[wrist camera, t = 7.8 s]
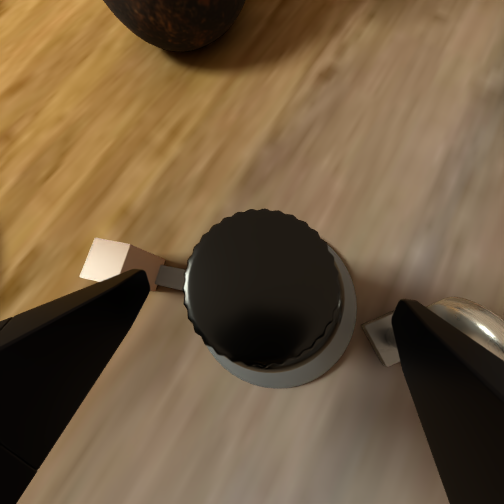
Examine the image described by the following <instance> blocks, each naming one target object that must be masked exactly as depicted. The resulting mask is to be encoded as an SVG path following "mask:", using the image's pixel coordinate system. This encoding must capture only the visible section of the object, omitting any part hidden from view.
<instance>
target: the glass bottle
mask: <svg viewBox="0 0 504 504" xmlns="http://www.w3.org/2000/svg"><path fill="white" fill-rule="evenodd" d="M103 1H104V2H105V3H106V5H107V6H108V7H109V9H110V10H111V11H112V12H113V13H114V15H115V16H116V17H117V18H118V19H119V20H120V21H121V22H122V23H123V24H124V25H125V26H126V27H127V28H128V29H130V30H131V31H132V32H133V33H134V34H136V35H137V36H138V37H140V38H141V39H143V40H144V41H146V42H148V43H150V44H152V45H154V46H156V47H159V48H162V49H165V50H170V51H190V50H195V49H198V48H201V47H203V46H206V45H208V44H210V43H212V42H213V41H215V40H216V39H218V38H219V37H220V36H222V35H223V34H224V33H225V32H226V31H227V30H228V29H229V28H230V26H231V25H232V24H233V22H234V21H235V19H236V18H237V16H238V15H239V12H240V11H241V9H242V7H243V5H244V2H245V0H103Z"/></svg>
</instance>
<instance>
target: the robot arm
mask: <svg viewBox="0 0 504 504" xmlns="http://www.w3.org/2000/svg"><path fill="white" fill-rule="evenodd" d="M149 292H150V284H149V280H148V277H147V274H146V272H145V270H143V269H131V270H128V271H126V272H123V273H121V274H118V275H116V276H113V277H111V278H108V279H106V280H103V281H101V282H98V283H96V284H93V285H91V286H88V287H86V288H83V289H81V290H78V291H76V292H73V293H71V294H68V295H66V296H63V297H61V298H58V299H56V300H53V301H51V302H48V303H46V304H43V305H41V306H38V307H36V308H33V309H31V310H28V311H26V312H23V313H21V314H18V315H15V316H14V317H10V318H8V319H5V320H3V321H0V504H16V503H17V502H18V500H19V499H20V497H21V496H22V494H23V493H24V491H25V489H26V488H27V486H28V485H29V483H30V482H31V480H32V479H33V477H34V476H35V474H36V473H37V470H38V469H39V468H40V466H41V465H42V463H43V462H44V460H45V458H46V457H47V455H48V454H49V452H50V451H51V449H52V448H53V446H54V445H55V443H56V442H57V440H58V439H59V437H60V436H61V434H62V432H63V431H64V429H65V428H66V426H67V425H68V423H69V422H70V420H71V419H72V417H73V416H74V414H75V413H76V411H77V410H78V408H79V406H80V405H81V403H82V402H83V400H84V399H85V397H86V396H87V394H88V393H89V391H90V390H91V388H92V387H93V385H94V383H95V382H96V380H97V379H98V377H99V376H100V374H101V373H102V371H103V370H104V368H105V367H106V365H107V364H108V362H109V361H110V359H111V357H112V356H113V354H114V353H115V351H116V350H117V348H118V347H119V345H120V344H121V342H122V341H123V339H124V338H125V336H126V334H127V333H128V331H129V330H130V328H131V326H132V325H133V323H134V321H135V319H136V317H137V315H138V313H139V312H140V310H141V308H142V306H143V304H144V302H145V300H146V298H147V296H148V294H149ZM391 324H392V328H393V333H394V337H395V341H396V345H397V350H398V354H399V358H400V362H401V366H402V370H403V373H404V376H405V379H406V382H407V385H408V387H409V390H410V393H411V396H412V399H413V401H414V404H415V407H416V410H417V413H418V416H419V418H420V421H421V424H422V427H423V430H424V432H425V435H426V438H427V441H428V444H429V447H430V449H431V452H432V455H433V458H434V461H435V463H436V466H437V469H438V472H439V475H440V478H441V480H442V483H443V486H444V489H445V492H446V494H447V497H448V500H449V503H450V504H504V360H502V359H501V358H499V357H498V356H496V355H495V354H493V353H492V352H490V351H489V350H487V349H486V348H485V347H483V346H482V345H480V344H479V343H477V342H476V341H474V340H473V339H471V338H470V337H469V336H467V335H466V334H464V333H463V332H461V331H460V330H458V329H457V328H455V327H454V326H453V325H451V324H450V323H448V322H447V321H445V320H444V319H442V318H441V317H439V316H438V315H437V314H435V313H434V312H432V311H431V310H429V309H428V308H426V307H425V306H423V305H422V304H421V303H419V302H418V301H416V300H409V299H401V300H400V301H399V302H398V304H397V306H396V309H395V311H394V313H393V315H392V319H391Z"/></svg>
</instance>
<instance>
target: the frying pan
mask: <svg viewBox="0 0 504 504" xmlns="http://www.w3.org/2000/svg"><path fill="white" fill-rule="evenodd" d="M327 245H328V244H327ZM328 251H329V252H330V253H331V254H332V255H333V256H334V260H335V262H336V264H337V266H338V268H339V270H340V273H341V276H342V280H343V284H344V292H345V304H344V312H343V317H342V320H341V323H340V326H339V329H338V331H337V333H336V335H335V337H334V338H333V340H332V341H331V343H330V344H329V345H328V346H327V348H326V349H325V350H324V351H323V352H322V353H321V354H320V355H319V356H317V357H316V358H315V359H314V360H312V361H310V362H309V363H307V364H305V365H303V366H301V367H299V368H296V369H293V370H290V371H286V372H279V373H263V372H256V371H252V370H249V369H246V368H243V367H241V366H239V365H237V364H235V363H233V362H231V361H230V360H228V359H227V358H226V357H224V356H220V355H217V354H216V352H215V351H214V349H213V348H212V347H209V346H207V347H208V349H209V351H210V352H211V353H212V355H213V356H214V357H215V359H216V360H217V361H218V362H219V363H220V364H221V365H222V366H223V367H224V368H225V369H226V370H228V371H229V372H230V373H232V374H233V375H235V376H236V377H238V378H240V379H241V380H243V381H246V382H248V383H251V384H253V385H257V386H261V387H267V388H290V387H295V386H299V385H302V384H305V383H308V382H310V381H312V380H314V379H316V378H318V377H320V376H321V375H322V374H324V373H325V372H326V371H328V370H329V369H330V368H331V367H332V366H333V365H334V364H335V363H336V362H337V361H338V360H339V358H340V357H341V356H342V354H343V353H344V351H345V349H346V348H347V346H348V344H349V342H350V339H351V337H352V334H353V331H354V326H355V322H356V312H357V305H356V295H355V290H354V286H353V282H352V279H351V276H350V274H349V272H348V270H347V268H346V266H345V265H344V263H343V262H342V260H341V259H340V257H339V256H338V255H337V254H336V252H335V251H334V250H333V249H332V248H331V247H330V246H329V245H328ZM164 262H165V259H163V258H160V257H158V256H156V255H154V254H151V253H149V252H147V251H144V250H142V249H140V248H137V247H135V246H133V245H131V244H126V243H121V242H115V241H110V240H105V239H100V238H95V239H94V241H93V244H92V247H91V249H90V252H89V254H88V257H87V259H86V262H85V264H84V267H83V269H82V272H81V274H80V277H81V278H86V279H90V280H94V281H99V282H101V281H103V280H106V279H108V278H111V277H113V276H116V275H118V274H121V273H123V272H126V271H128V270H131V269H143V270H145V272H146V274H147V277H148V280H149V284H150V291H156V288H157V285H160V286H165V287H169V288H174V289H178V290H183V289H182V288H183V285H184V282H185V279H184V272H185V270H184V269H179V268H174V267H169V266H164Z"/></svg>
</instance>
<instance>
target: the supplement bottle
mask: <svg viewBox="0 0 504 504" xmlns="http://www.w3.org/2000/svg"><path fill="white" fill-rule="evenodd" d="M184 279H185V282H184V285H183V288H182V289H183V292H184V295H185V297H184V305H185V307H186V308H187V310H188V319H189V320H190V321H191V322H192V323H193V326H194V330H195V333H197V334H198V335H200V336H201V337H202V339H203V342H204V344H205V345H207V346H209V347H212V348H213V349H214V351H215V352H216V354H217V355H220V356H224V357H226V358H227V359H228V360H230V361H231V362H233V363H235V364H237V365H239V366H241V367H243V368H246V369H249V370H252V371H256V372H263V373H279V372H286V371H290V370H293V369H296V368H299V367H301V366H303V365H305V364H307V363H309V362H310V361H312V360H314V359H315V358H316V357H317V356H319V355H320V354H321V353H322V352H323V351H324V350H325V349H326V348H327V346H328V345H329V344H330V343H331V341H332V340H333V338H334V337H335V335H336V333H337V331H338V329H339V326H340V323H341V320H342V317H343V312H344V304H345V292H344V284H343V280H342V276H341V273H340V270H339V268H338V266H337V264H336V262H335V260H334V256H333V255H332V254H331V253H330V252H329V251H328V245H327V243H326V242H325V241H323V240H322V239H320V236H319V234H318V232H317V231H315V230H314V229H311V228H310V227H309V226H308V224H307V223H306V222H304V221H301V220H298V219H297V218H296V217H295V216H293V215H290V214H284V213H282V212H281V211H279V210H278V211H270V210H268V209H261V210H254V209H250V210H247V211H246V212H237V213H235V214H234V215H233V216H232V217H226V218H224V219H223V220H222V221H221V222H220V223H219V224H216V225H213V226H212V227H211V229H210V231H209V232H207V233H206V234H204V235H203V236H202V238H201V240H200V242H199V243H198V244H197V245H196V246H195V247H194V249H193V254H192V255H191V256H190V257H189V259H188V262H187V269H186V270H185V272H184Z"/></svg>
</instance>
